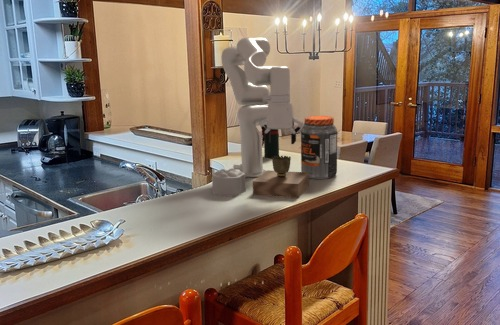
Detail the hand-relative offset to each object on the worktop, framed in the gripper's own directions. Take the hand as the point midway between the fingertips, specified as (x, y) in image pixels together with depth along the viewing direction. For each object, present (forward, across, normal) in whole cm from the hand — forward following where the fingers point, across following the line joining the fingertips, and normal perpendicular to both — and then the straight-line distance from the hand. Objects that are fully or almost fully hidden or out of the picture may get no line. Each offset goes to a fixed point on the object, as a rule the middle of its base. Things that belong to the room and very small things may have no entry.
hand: (280, 143), depth 179 cm
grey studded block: (+19, -20, -7) cm, 29 cm away
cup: (+14, 0, -1) cm, 14 cm away
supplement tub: (+19, +11, +25) cm, 33 cm away
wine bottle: (+19, -21, +61) cm, 67 cm away
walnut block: (+19, 0, -1) cm, 19 cm away
